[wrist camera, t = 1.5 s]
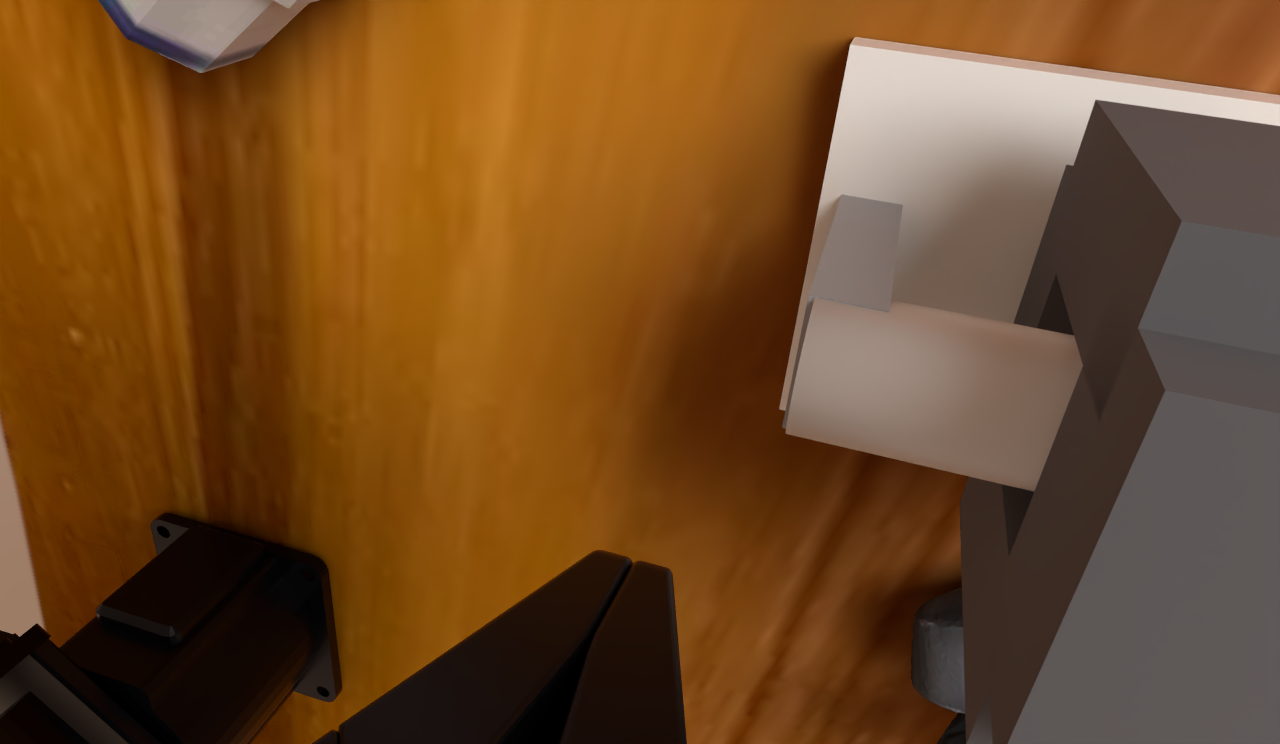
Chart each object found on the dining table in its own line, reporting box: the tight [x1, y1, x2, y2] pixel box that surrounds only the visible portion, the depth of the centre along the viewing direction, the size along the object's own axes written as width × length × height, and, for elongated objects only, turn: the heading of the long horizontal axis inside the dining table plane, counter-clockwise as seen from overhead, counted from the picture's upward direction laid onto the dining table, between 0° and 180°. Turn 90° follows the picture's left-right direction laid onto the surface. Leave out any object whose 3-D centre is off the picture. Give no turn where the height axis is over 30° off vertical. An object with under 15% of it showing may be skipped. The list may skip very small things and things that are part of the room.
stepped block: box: [960, 100, 1280, 744], centre depth 13 cm, size 8×3×8 cm, turn 174°
